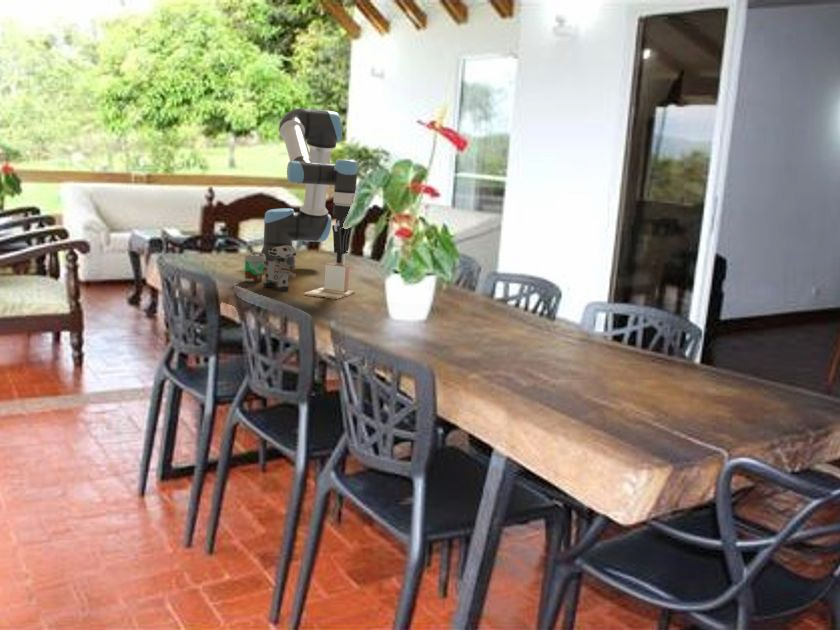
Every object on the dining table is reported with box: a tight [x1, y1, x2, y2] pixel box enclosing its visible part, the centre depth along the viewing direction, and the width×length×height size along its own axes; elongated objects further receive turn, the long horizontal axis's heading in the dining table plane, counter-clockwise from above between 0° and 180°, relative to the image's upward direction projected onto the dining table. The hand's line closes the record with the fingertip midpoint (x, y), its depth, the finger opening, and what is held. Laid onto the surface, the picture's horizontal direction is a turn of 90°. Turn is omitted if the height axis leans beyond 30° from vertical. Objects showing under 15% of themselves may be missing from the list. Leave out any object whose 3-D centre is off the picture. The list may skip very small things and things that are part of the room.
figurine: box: [263, 245, 298, 292], centre depth 293 cm, size 9×12×15 cm
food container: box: [244, 251, 266, 284], centre depth 303 cm, size 12×6×10 cm, turn 179°
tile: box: [323, 262, 350, 292], centre depth 294 cm, size 3×8×9 cm, turn 72°
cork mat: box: [303, 286, 356, 300], centre depth 291 cm, size 16×12×1 cm
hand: (339, 271), depth 296 cm, fingers closed
